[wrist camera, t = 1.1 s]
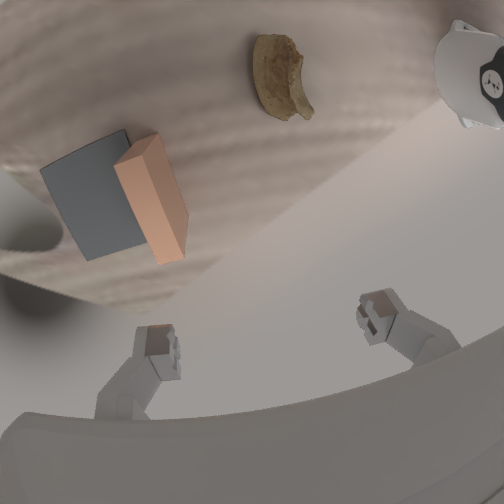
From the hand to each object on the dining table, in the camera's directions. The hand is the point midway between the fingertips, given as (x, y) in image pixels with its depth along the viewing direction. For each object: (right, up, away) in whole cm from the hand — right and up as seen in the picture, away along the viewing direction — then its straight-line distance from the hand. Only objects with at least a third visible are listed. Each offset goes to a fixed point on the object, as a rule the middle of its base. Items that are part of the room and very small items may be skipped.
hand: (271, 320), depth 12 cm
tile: (-12, +12, +24) cm, 29 cm away
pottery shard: (+1, +23, +19) cm, 30 cm away
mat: (-21, +10, +24) cm, 34 cm away
